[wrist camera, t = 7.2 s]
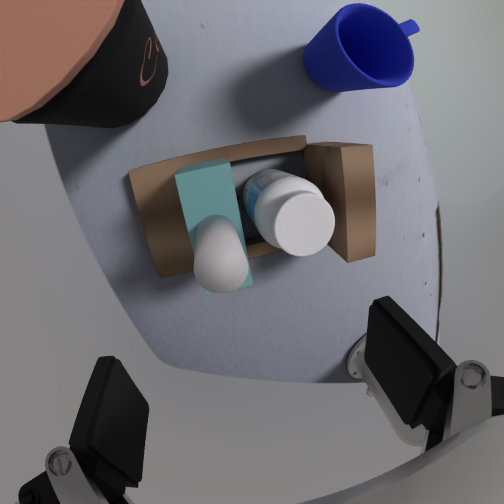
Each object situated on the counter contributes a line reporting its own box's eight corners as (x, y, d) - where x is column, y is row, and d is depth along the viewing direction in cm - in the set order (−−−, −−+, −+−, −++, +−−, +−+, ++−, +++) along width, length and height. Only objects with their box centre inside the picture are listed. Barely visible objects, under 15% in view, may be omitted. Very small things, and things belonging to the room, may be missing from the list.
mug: (389, 68, 24) (445, 57, 15) (324, 111, 26) (375, 103, 17) (352, 17, 21) (399, -11, 12) (278, 53, 23) (313, 18, 14)
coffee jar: (181, 105, 24) (143, 46, 7) (89, 144, 23) (-32, 164, 7) (158, 24, 19) (118, -80, 3) (70, 64, 19) (-34, 22, 2)
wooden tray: (335, 233, 32) (374, 265, 24) (161, 271, 30) (148, 318, 22) (325, 133, 27) (370, 133, 19) (132, 169, 25) (101, 182, 17)
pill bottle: (279, 231, 31) (315, 278, 20) (231, 206, 29) (246, 245, 18) (307, 185, 29) (358, 211, 19) (260, 157, 27) (292, 166, 17)
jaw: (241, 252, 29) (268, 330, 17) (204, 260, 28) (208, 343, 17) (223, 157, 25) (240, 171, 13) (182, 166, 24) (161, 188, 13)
